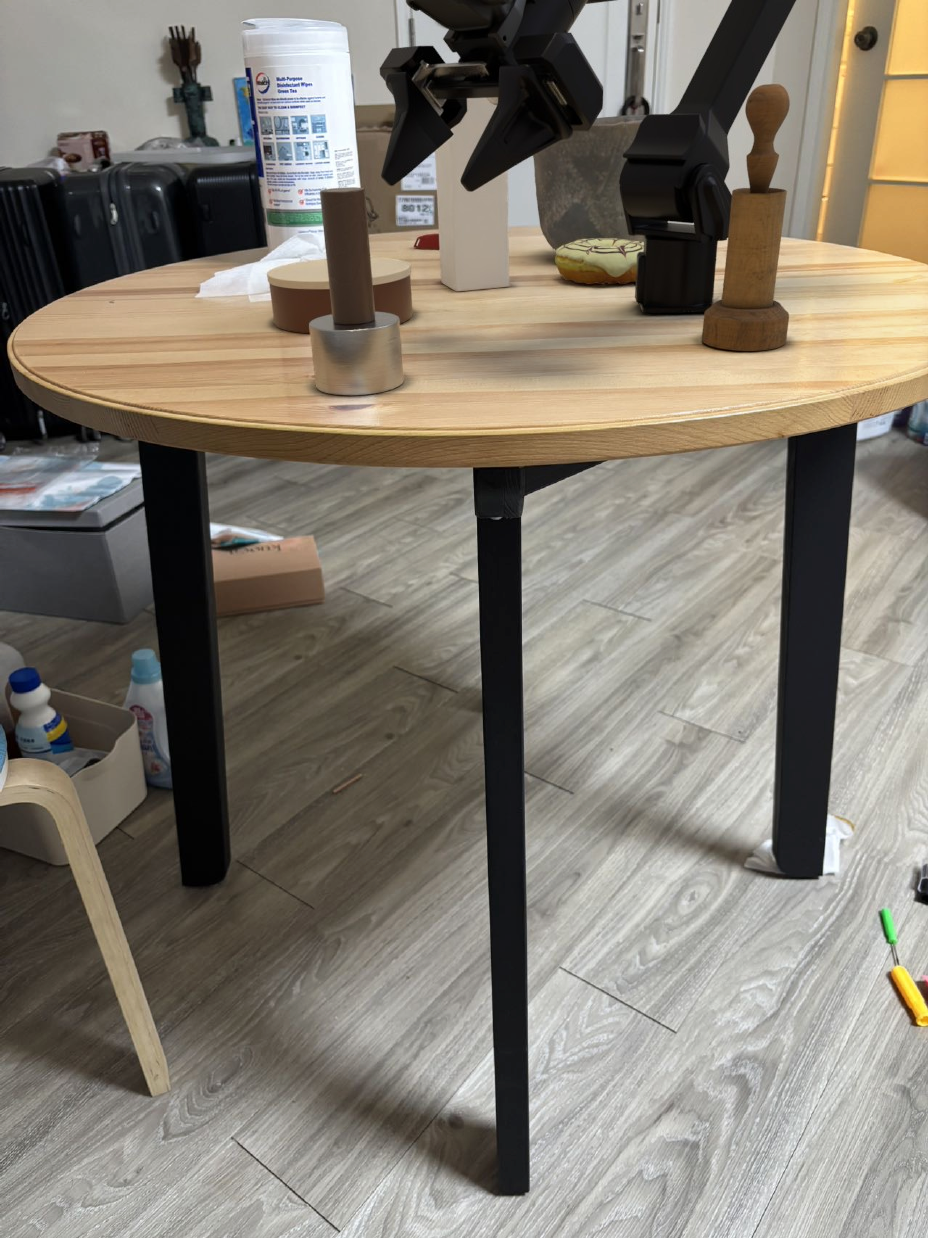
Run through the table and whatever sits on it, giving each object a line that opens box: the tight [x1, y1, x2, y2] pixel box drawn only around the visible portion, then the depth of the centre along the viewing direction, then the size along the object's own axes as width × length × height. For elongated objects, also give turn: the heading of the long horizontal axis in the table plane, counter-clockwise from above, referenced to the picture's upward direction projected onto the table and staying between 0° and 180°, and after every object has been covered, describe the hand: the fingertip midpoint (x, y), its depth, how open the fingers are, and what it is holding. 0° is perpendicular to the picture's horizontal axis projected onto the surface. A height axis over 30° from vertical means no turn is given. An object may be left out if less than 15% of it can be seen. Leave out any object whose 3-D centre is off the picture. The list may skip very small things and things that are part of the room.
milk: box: [434, 55, 510, 293], centre depth 99 cm, size 6×6×22 cm
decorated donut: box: [554, 238, 644, 285], centre depth 103 cm, size 10×11×4 cm
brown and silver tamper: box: [309, 186, 405, 396], centre depth 67 cm, size 6×6×13 cm
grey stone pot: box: [532, 114, 647, 251], centre depth 114 cm, size 18×18×15 cm
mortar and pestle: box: [701, 83, 791, 352], centre depth 73 cm, size 7×6×18 cm
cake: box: [266, 256, 414, 334], centre depth 90 cm, size 13×13×4 cm
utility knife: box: [413, 233, 440, 250], centre depth 127 cm, size 12×1×2 cm, turn 69°
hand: (423, 184), depth 68 cm, fingers open, 9 cm apart
